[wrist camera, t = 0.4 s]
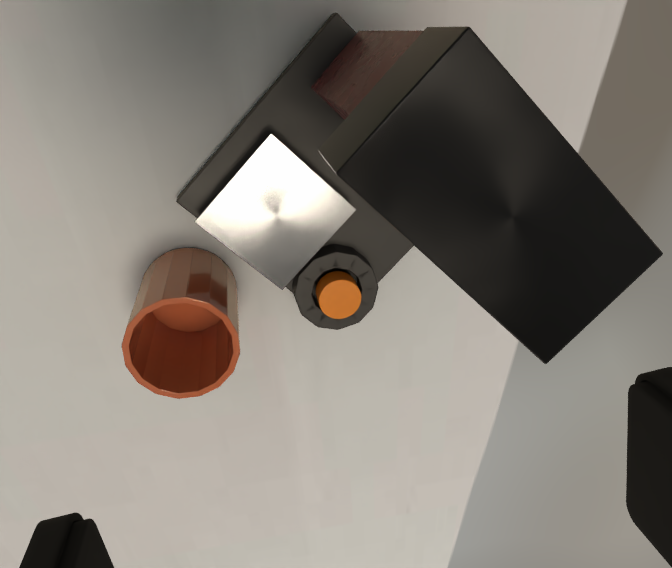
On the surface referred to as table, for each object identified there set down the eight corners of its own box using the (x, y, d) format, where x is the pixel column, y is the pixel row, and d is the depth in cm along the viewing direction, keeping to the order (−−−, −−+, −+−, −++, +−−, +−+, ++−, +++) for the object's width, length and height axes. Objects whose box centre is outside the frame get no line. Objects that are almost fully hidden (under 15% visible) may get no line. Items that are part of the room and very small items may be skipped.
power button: (306, 292, 43) (309, 302, 42) (335, 262, 43) (339, 271, 41) (337, 316, 44) (341, 327, 43) (365, 287, 44) (370, 297, 42)
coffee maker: (329, 325, 44) (393, 508, 27) (192, 219, 40) (167, 360, 23) (485, 162, 41) (664, 254, 25) (357, 27, 37) (469, 25, 20)
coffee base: (173, 202, 42) (169, 214, 39) (333, 12, 39) (341, 11, 36) (332, 325, 48) (338, 343, 45) (482, 168, 45) (499, 177, 42)
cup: (122, 297, 44) (98, 358, 36) (181, 228, 43) (171, 275, 35) (197, 348, 47) (191, 416, 38) (255, 285, 45) (262, 341, 37)
